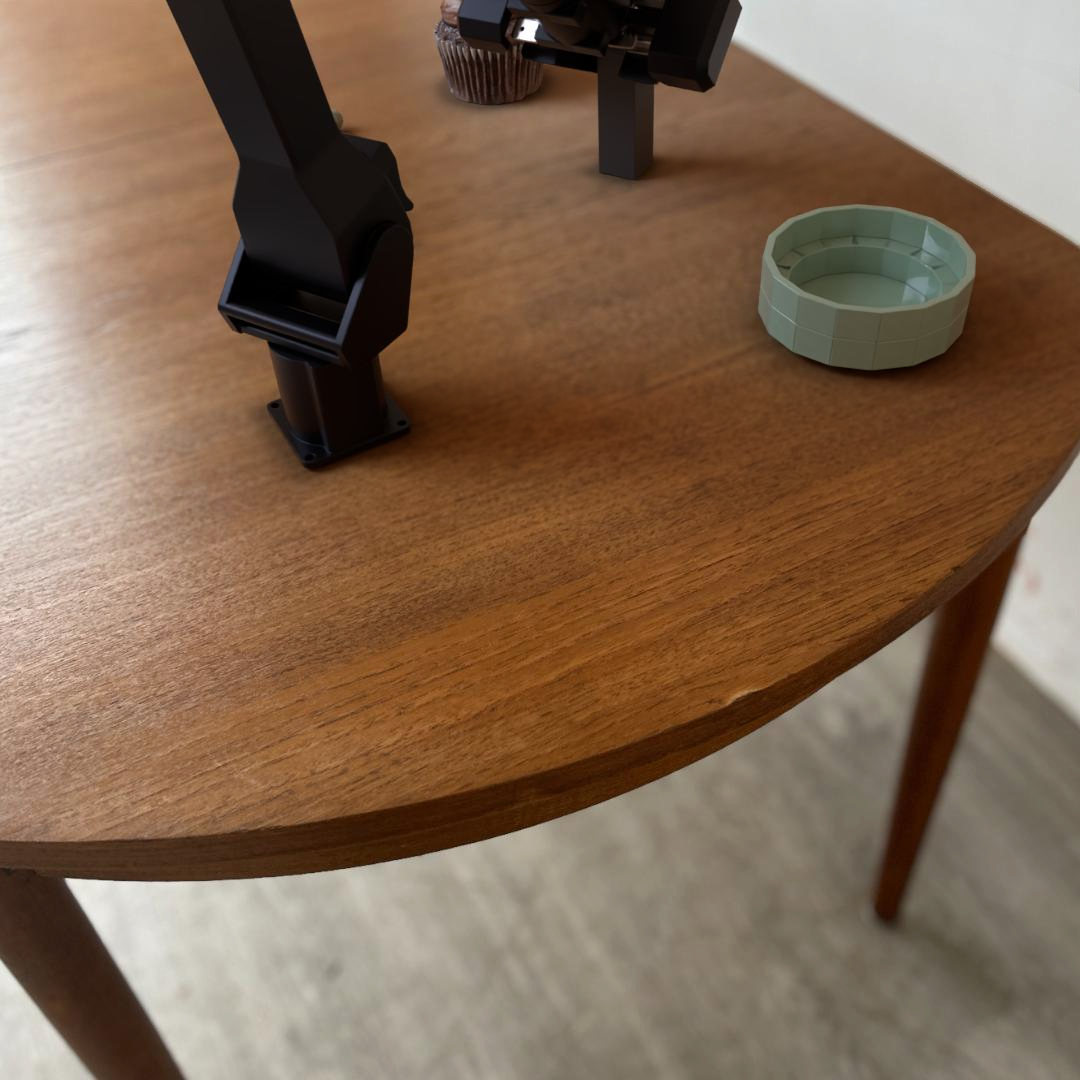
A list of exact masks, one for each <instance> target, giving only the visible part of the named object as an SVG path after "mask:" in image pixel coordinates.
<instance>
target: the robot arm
mask: <svg viewBox="0 0 1080 1080" xmlns="http://www.w3.org/2000/svg"><path fill="white" fill-rule="evenodd" d="M165 2H166V4H167V6H168V8H169V11H170V13H171V15H172V17H173V20H174V21H175V24H176V25H177V28H178V30H179V32H180V34H181V37H182V39H183V40H184V43H185V45H186V47H187V50H188V51H189V54H190V56H191V58H192V60H193V62H194V64H195V66H196V69H197V72H198V73H199V75H200V77H201V80H202V81H203V84H204V86H205V88H206V90H207V93H208V94H209V98H210V99H211V102H212V103H213V106H214V107H215V109H216V111H217V112H216V113H217V114H218V116H219V118H220V120H221V122H222V125H223V127H224V129H225V131H226V134H227V136H228V137H229V140H230V143H231V144H232V146H233V149H234V150H235V153H236V156H237V158H238V159H237V160H238V162H239V163H238V168H237V173H236V177H235V182H234V188H233V193H232V198H231V207H232V208H231V209H232V211H233V215H234V218H235V222H236V225H237V228H238V231H239V233H240V237H239V240H238V243H237V246H236V248H235V251H234V254H233V258H232V261H231V263H230V267H229V268H228V269H229V270H228V272H227V276H226V278H225V281H224V283H223V284H224V285H223V288H222V290H221V293H220V296H219V299H218V302H217V312H218V313H219V314H220V316H221V317H222V318H223V320H224V322H226V324H227V326H228V327H229V328H230V329H231V331H232V332H234V333H237V334H241V335H242V334H246V335H249V336H251V337H254V338H257V339H260V340H264V341H266V343H267V347H268V351H269V355H270V359H271V363H272V367H273V372H274V375H275V380H276V384H277V388H278V392H279V395H280V398H277V399H275V400H272V401H270V402H269V403H267V405H266V410H267V413H268V415H269V418H271V421H272V422H273V423H274V424H275V426H276V427H277V429H278V431H279V432H280V434H281V436H282V437H283V439H284V440H285V441H286V443H287V444H288V446H289V447H290V449H291V450H292V452H293V454H294V455H295V457H296V458H297V459H298V461H299V462H300V464H301V465H302V467H303V468H304V469H307V470H313V469H316V468H320V467H322V466H324V465H326V464H329V463H332V462H336V461H338V460H339V459H343V458H345V457H348V456H350V455H353V454H356V453H358V452H362V451H364V450H366V449H370V448H372V447H375V446H377V445H380V444H383V443H385V442H388V441H390V440H393V439H396V438H398V437H401V436H404V435H407V434H408V433H410V432H411V431H412V422H411V420H410V418H409V417H408V416H407V415H406V413H405V412H404V411H403V410H402V408H401V407H400V406H399V405H398V403H397V402H396V401H395V400H394V398H393V397H392V396H391V395H390V393H389V392H388V391H387V390H386V388H385V384H384V379H383V373H382V372H383V371H382V366H381V360H380V354H381V353H382V352H383V351H384V350H386V349H387V348H388V347H389V346H390V345H391V344H392V343H393V342H394V341H396V340H397V339H398V338H399V337H400V336H402V335H403V334H404V333H405V332H406V331H407V329H408V325H409V315H410V304H411V294H412V293H411V291H412V280H413V271H414V270H413V269H414V258H415V246H414V235H413V229H412V225H411V221H410V218H409V216H408V213H407V212H410V211H413V210H414V208H415V204H414V202H413V201H412V200H411V199H410V198H409V197H408V196H407V193H406V192H405V190H404V187H403V184H402V180H401V177H400V172H399V165H398V162H397V159H396V156H395V154H394V152H393V151H392V148H391V147H390V145H389V144H388V143H387V142H384V141H380V140H377V139H373V138H369V137H364V136H361V135H356V134H351V133H347V132H344V131H342V130H341V128H340V129H339V127H338V125H337V123H336V121H335V119H334V116H333V114H332V111H331V110H332V109H331V106H330V103H329V100H328V98H327V95H326V92H325V90H324V86H323V84H322V81H321V78H320V77H319V73H318V71H317V68H316V65H315V63H314V59H313V57H312V54H311V52H310V50H309V47H308V44H307V41H306V38H305V35H304V33H303V30H302V28H301V25H300V22H299V20H298V16H297V14H296V11H295V9H294V6H293V4H292V1H291V0H165ZM635 7H637V9H636V8H635ZM742 11H743V6H742V4H741V2H740V0H461V3H460V6H459V9H458V12H457V15H456V18H457V28H458V31H459V34H460V36H461V37H462V38H463V39H464V40H465V41H466V42H467V43H468V44H469V45H470V46H471V47H472V48H474V49H479V50H484V51H489V52H495V53H500V54H504V53H506V52H507V51H508V50H509V47H510V44H511V42H510V41H509V40H508V39H507V38H506V37H505V35H506V32H507V29H508V26H509V23H510V20H511V17H512V14H513V15H516V16H520V17H519V18H518V19H517V20H516V22H515V25H514V27H513V30H512V33H511V36H512V38H513V39H514V40H518V41H522V42H523V46H522V48H521V55H522V57H523V58H524V59H525V60H527V61H532V62H537V63H542V64H544V65H548V66H553V67H558V68H564V69H570V70H575V71H581V72H586V73H592V74H597V56H599V57H605V54H606V51H607V49H608V47H613V48H619V49H624V50H626V53H625V56H624V59H623V62H622V65H621V68H620V70H619V73H618V76H617V77H618V78H620V79H625V80H630V81H635V82H640V83H645V84H651V85H654V86H658V85H659V83H661V84H663V85H665V86H667V87H671V88H676V89H681V90H687V91H692V92H696V93H701V94H705V93H707V92H709V90H711V89H713V88H714V87H715V86H716V85H717V81H718V79H719V76H720V73H721V70H722V67H723V65H724V62H725V59H726V55H727V53H728V50H729V48H730V44H731V41H732V39H733V36H734V33H735V30H736V28H737V25H738V22H739V20H740V16H741V14H742ZM622 33H623V35H622Z"/></svg>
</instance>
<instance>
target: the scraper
mask: <svg viewBox="0 0 1080 1080" xmlns="http://www.w3.org/2000/svg"><path fill="white" fill-rule="evenodd" d="M635 8H636V9H637V7H635ZM622 35H623V33H622ZM625 53H626V50H624V49H619V48H613V47H608V49H607V51H606V54H605V57H599V56H597V73H596V76H597V79H596V80H597V120H598V121H597V127H598V128H597V130H598V131H597V133H598V135H597V136H598V172H599V173H601V174H606V175H611V176H615V177H619V178H624V179H626V180H627V179H628V180H633V181H636V180H637V179H638V178H639V177H640V176H641V175H642V174H643V173H645V171H647V170H648V169H649V168H650V167H651V166H652V165H653V164H654V129H655V127H654V126H655V125H654V124H655V123H654V122H655V121H654V120H655V85H651V84H645V83H640V82H635V81H630V80H625V79H620V78H618V77H617V76H618V73H619V70H620V68H621V65H622V62H623V59H624V56H625Z"/></svg>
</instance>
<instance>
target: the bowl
mask: <svg viewBox="0 0 1080 1080" xmlns="http://www.w3.org/2000/svg"><path fill="white" fill-rule="evenodd" d="M761 262H762V263H761V271H760V273H761V274H760V285H759V297H758V304H757V305H758V306H757V312H758V314H759V316H760V318H761V320H762V322H763V325H764V327H765V329H766V331H767V333H768V334H769V335H770V336H771V337H772V338H774V339H775V340H776V341H778V342H779V343H780V344H781V345H783V346H784V347H785V348H787V349H788V350H789V351H790V352H792V353H794V354H796V355H799V356H801V357H805V358H808V359H811V360H813V361H816V362H819V363H822V364H823V365H827V366H831V367H839V368H847V369H856V370H862V371H863V370H865V371H879V370H880V371H881V370H888V369H897V368H904V367H905V368H906V367H914V366H916V365H919V364H921V363H923V362H926V361H928V360H930V359H931V360H932V359H934V358H935V357H937V356H940V355H943V354H945V353H946V351H948V350H949V349H950V347H951V346H952V345H953V344H954V343H955V342H956V340H957V339H958V338H959V337H961V335H962V334H963V331H964V328H965V327H964V326H965V322H966V318H967V314H968V309H969V305H970V300H971V296H972V291H973V288H974V283H975V279H976V268H977V267H976V266H977V264H976V263H977V255H976V253H975V252H974V250H973V249H972V247H971V246H970V245H969V244H968V242H967V241H966V239H965V238H964V237H963V236H962V234H961V233H959V232H957V231H956V230H954V229H952V228H950V227H949V226H947V225H945V224H944V223H942V222H940V221H938V220H937V219H935V218H934V217H931V216H928V215H924V214H920V213H916V212H914V211H910V210H907V209H903V208H900V207H895V206H883V205H871V204H859V203H855V204H854V203H853V204H845V205H844V204H843V205H834V206H825V207H819V208H818V207H817V208H816V209H813V210H809V211H807V212H804V213H801V214H798V215H795V216H793V217H789V218H787V219H786V220H785V221H784V222H783V223H781V225H780V226H778V227H777V228H776V229H774V230H773V231H772V232H771V233H770V234H769V235H768V236H767V240H766V243H765V247H764V250H763V253H762V261H761Z"/></svg>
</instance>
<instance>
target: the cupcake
mask: <svg viewBox="0 0 1080 1080" xmlns="http://www.w3.org/2000/svg"><path fill="white" fill-rule="evenodd" d="M460 3H461V0H442V2H441V3H440V6H439V8H440V15H441V18H440V19H439V20H438V22H436V25H434V28H433V32H432V35H433V38H434V42H435V44H436V47H437V50H438V53H439V57H440V59H441V63H442V68H443V71H444V75H445V79H446V82H447V85H448V88H449V90H450V93H451V94H452V95H454V96H455V98H457V99H459V100H461V101H462V102H463V101H464V102H467V103H474V104H480V105H501V104H505V103H507V104H508V103H513V102H516V101H522V100H523V99H524V98H525V97H527V96H529V95H531V94H533V93H535V92H537V90H538V89H539V88H540V87H541V86H542V83H543V76H544V70H545V69H544V68H545V64H542V63H537V62H532V61H527V60H525V59H524V58H523V57H522V55H521V48H522V46H523V42H522V41H518V40H514V39H513V38H512V36H511V33H512V30H513V27H514V25H515V22H516V20H517V19H518V18H519V17H520V16H516V15H513V14H512V17H511V20H510V23H509V26H508V29H507V32H506V35H505V37H506V38H507V39H508V40H509V41H510V42H511V44H510V47H509V50H508V51H507V52H506V53H504V54H500V53H495V52H489V51H484V50H479V49H474V48H472V47H471V46H470V45H469V44H468V43H467V42H466V41H465V40H464V39H463V38H462V37H461V36H460V34H459V31H458V28H457V18H456V15H457V12H458V9H459V6H460Z"/></svg>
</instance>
